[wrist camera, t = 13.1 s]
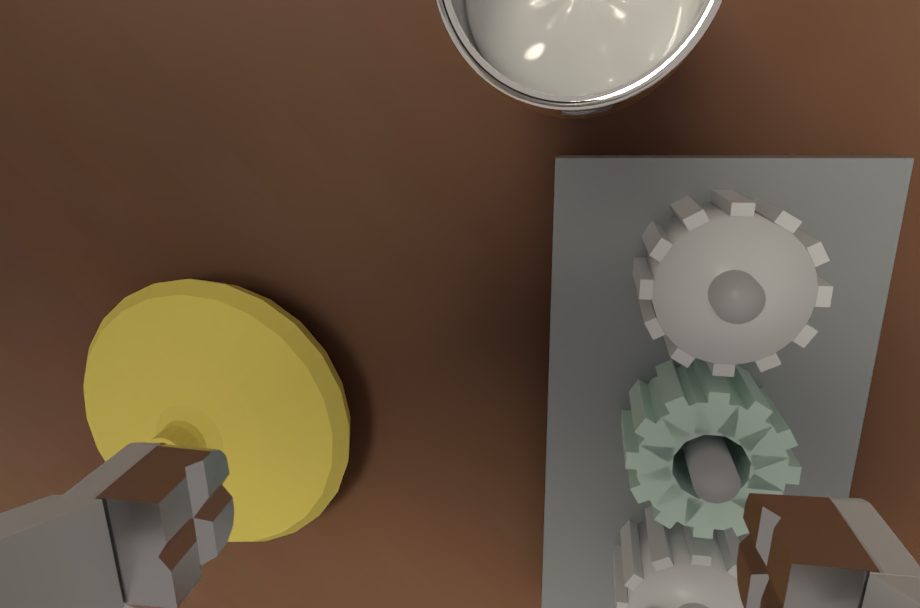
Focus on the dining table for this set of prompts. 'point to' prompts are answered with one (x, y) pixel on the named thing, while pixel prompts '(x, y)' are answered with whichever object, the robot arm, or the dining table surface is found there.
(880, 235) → the gear board
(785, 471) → the loose gear
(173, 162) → the dining table surface
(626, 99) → the beer glass
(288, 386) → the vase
